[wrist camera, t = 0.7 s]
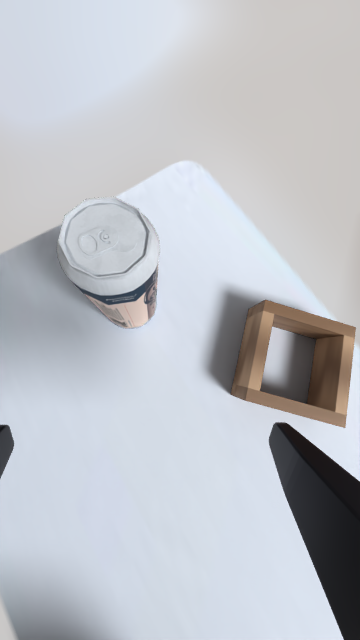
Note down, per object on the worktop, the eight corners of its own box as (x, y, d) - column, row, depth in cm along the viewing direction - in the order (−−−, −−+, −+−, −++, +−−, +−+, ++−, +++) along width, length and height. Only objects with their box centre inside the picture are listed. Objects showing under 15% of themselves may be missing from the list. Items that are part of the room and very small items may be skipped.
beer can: (165, 315, 22) (179, 260, 10) (119, 338, 21) (77, 307, 9) (142, 272, 22) (130, 173, 11) (96, 293, 21) (29, 210, 10)
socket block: (314, 417, 22) (345, 427, 18) (230, 394, 21) (245, 400, 18) (326, 332, 23) (355, 327, 20) (248, 309, 23) (265, 299, 20)
